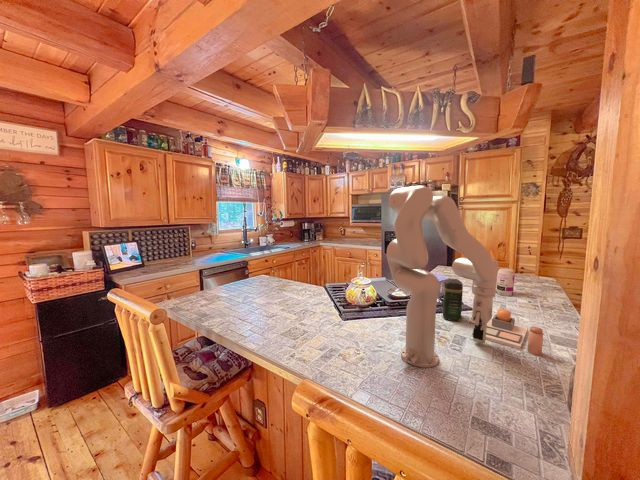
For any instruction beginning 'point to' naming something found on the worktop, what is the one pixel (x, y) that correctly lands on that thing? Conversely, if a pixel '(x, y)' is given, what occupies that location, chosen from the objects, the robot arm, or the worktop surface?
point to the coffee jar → (452, 299)
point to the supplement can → (505, 282)
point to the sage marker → (483, 334)
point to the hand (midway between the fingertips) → (479, 336)
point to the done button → (503, 315)
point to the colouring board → (505, 332)
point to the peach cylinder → (535, 341)
